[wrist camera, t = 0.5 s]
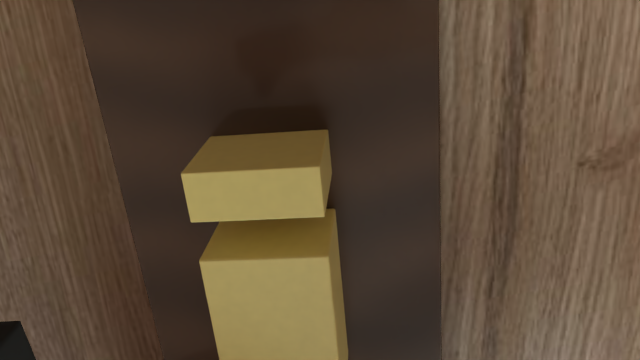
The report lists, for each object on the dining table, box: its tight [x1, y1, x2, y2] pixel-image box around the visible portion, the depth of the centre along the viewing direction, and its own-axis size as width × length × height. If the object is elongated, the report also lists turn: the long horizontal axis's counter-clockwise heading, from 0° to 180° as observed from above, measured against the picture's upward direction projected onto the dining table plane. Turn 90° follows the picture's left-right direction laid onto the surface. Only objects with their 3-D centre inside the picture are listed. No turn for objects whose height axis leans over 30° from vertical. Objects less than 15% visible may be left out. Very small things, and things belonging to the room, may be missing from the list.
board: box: [73, 0, 442, 360], centre depth 25 cm, size 20×14×1 cm
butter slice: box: [181, 130, 332, 223], centre depth 22 cm, size 2×5×4 cm, turn 95°
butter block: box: [199, 209, 348, 360], centre depth 24 cm, size 8×5×4 cm, turn 5°
